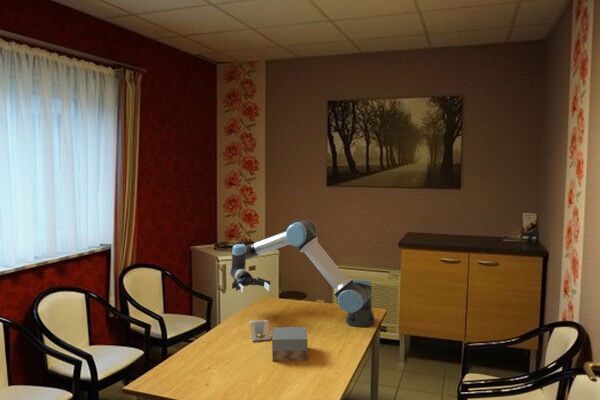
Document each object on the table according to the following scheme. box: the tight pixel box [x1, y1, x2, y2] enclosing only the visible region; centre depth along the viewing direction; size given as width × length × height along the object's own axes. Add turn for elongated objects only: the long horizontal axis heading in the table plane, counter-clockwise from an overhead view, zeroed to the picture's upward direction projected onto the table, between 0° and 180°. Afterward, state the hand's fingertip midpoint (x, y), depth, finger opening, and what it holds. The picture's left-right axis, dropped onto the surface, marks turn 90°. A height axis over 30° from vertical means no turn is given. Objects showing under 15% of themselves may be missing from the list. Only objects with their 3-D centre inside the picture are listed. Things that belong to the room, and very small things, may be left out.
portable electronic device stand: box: [249, 319, 271, 342], centre depth 235 cm, size 9×8×8 cm
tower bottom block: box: [271, 350, 309, 362], centre depth 216 cm, size 15×15×5 cm
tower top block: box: [271, 326, 309, 352], centre depth 215 cm, size 15×15×5 cm
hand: (256, 289), depth 241 cm, fingers open, 13 cm apart
